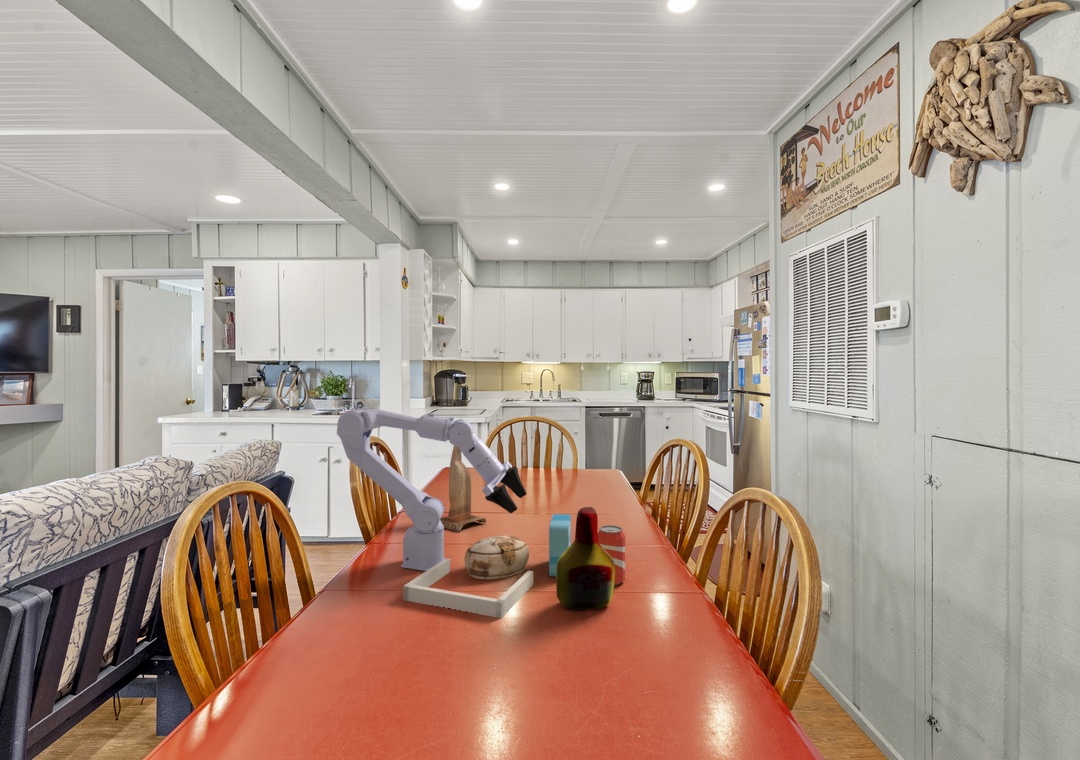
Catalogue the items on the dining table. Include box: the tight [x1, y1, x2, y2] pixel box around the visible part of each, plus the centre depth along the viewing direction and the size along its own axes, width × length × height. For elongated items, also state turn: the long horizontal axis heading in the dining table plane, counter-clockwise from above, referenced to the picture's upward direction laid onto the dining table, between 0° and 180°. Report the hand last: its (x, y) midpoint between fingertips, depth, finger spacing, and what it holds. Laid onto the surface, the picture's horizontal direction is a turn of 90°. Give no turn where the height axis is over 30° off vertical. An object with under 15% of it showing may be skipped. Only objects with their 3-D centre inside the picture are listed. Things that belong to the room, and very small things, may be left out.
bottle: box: [555, 506, 615, 610], centre depth 105 cm, size 12×6×20 cm, turn 90°
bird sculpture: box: [440, 445, 487, 532], centre depth 161 cm, size 11×12×32 cm
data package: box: [548, 513, 572, 578], centre depth 125 cm, size 12×4×12 cm, turn 174°
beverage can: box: [598, 524, 626, 586], centre depth 118 cm, size 6×6×12 cm
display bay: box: [402, 558, 534, 619], centre depth 112 cm, size 22×17×3 cm
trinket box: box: [463, 535, 530, 580], centre depth 124 cm, size 13×15×8 cm
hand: (519, 503), depth 128 cm, fingers open, 7 cm apart
